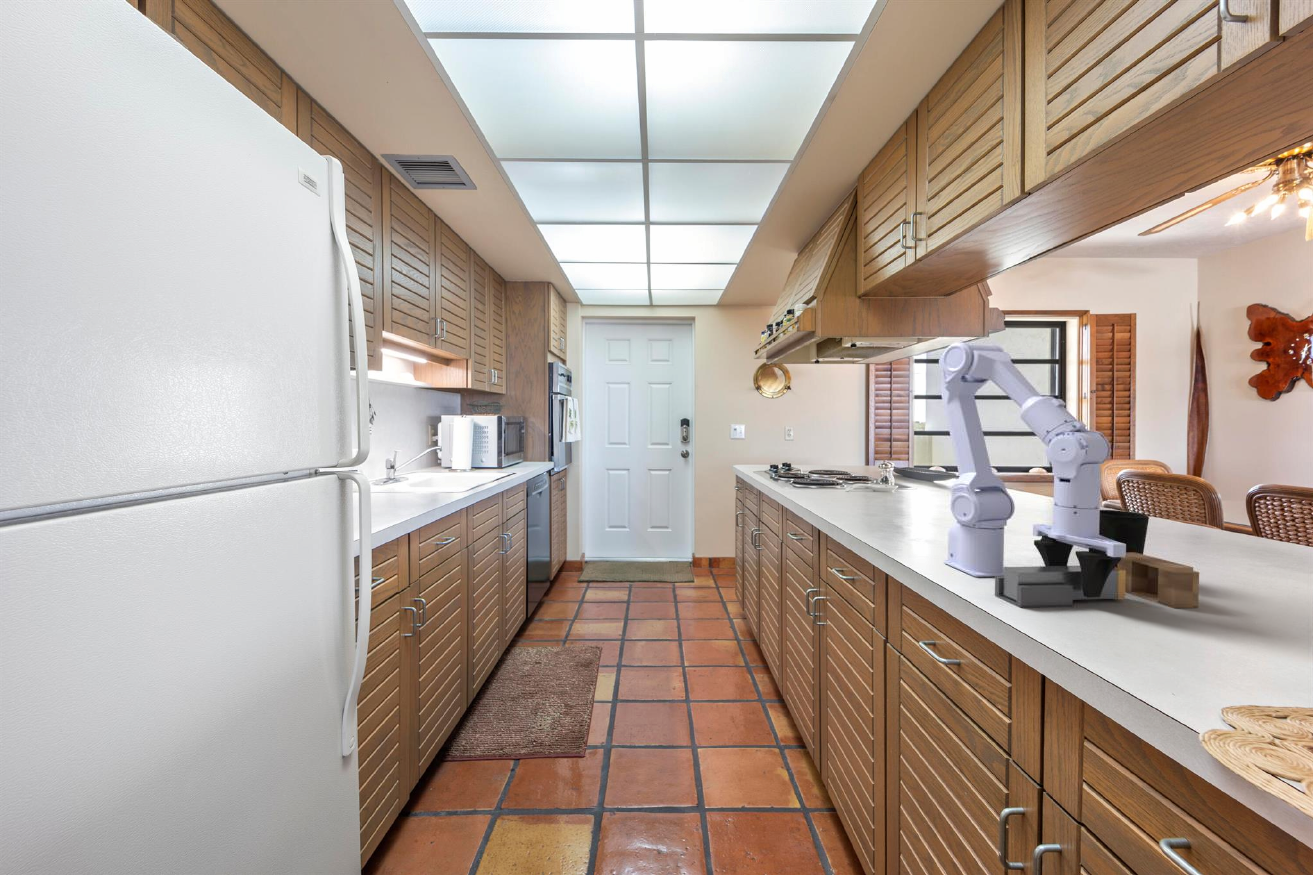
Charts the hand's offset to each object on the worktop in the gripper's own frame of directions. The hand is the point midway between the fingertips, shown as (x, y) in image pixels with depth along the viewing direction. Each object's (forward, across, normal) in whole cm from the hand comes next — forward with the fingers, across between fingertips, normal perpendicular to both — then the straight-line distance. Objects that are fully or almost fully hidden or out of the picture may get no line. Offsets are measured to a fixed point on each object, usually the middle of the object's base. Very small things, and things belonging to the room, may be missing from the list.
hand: (1073, 589), depth 81 cm
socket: (+2, 0, +14) cm, 14 cm away
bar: (+2, 0, -2) cm, 2 cm away
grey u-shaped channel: (+2, 0, -7) cm, 7 cm away
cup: (+2, -10, +18) cm, 21 cm away
